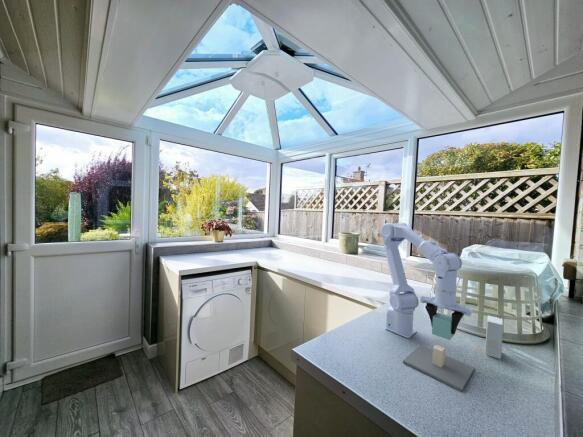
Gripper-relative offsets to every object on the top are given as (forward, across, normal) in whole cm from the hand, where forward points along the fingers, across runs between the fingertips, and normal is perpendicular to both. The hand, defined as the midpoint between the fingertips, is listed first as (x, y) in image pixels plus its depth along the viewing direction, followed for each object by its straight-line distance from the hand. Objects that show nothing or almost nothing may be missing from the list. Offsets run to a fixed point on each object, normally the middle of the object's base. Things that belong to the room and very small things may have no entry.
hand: (443, 329), depth 82 cm
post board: (+10, +1, -6) cm, 11 cm away
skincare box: (+10, +11, +17) cm, 22 cm away
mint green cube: (+2, 0, 0) cm, 2 cm away
